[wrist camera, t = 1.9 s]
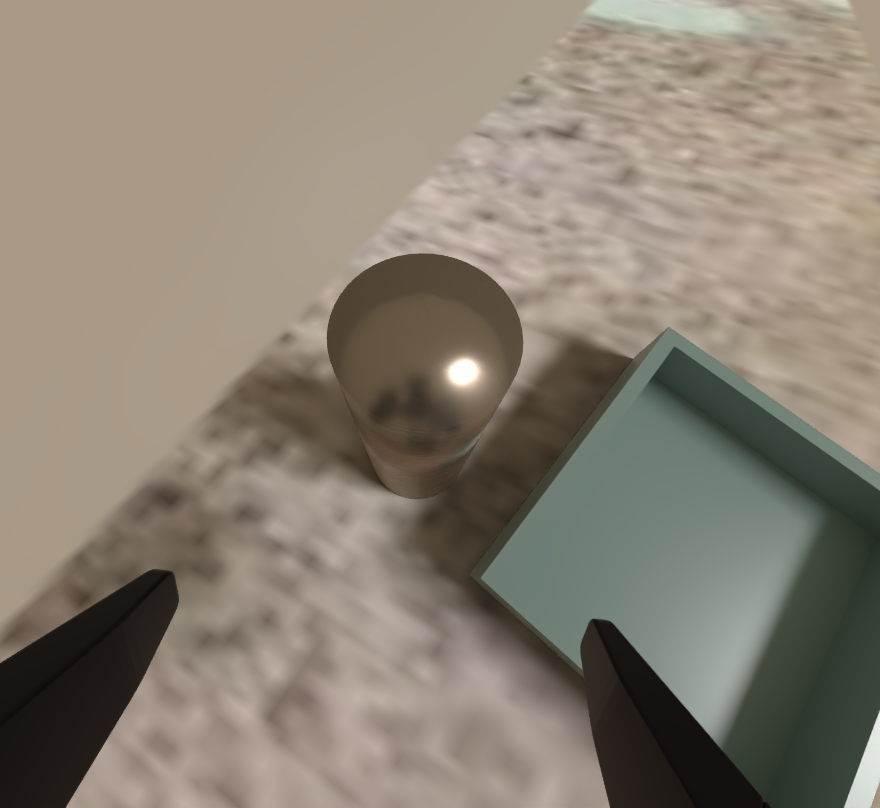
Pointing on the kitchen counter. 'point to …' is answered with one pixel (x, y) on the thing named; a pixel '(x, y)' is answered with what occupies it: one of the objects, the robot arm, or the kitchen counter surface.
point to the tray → (716, 568)
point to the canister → (423, 365)
